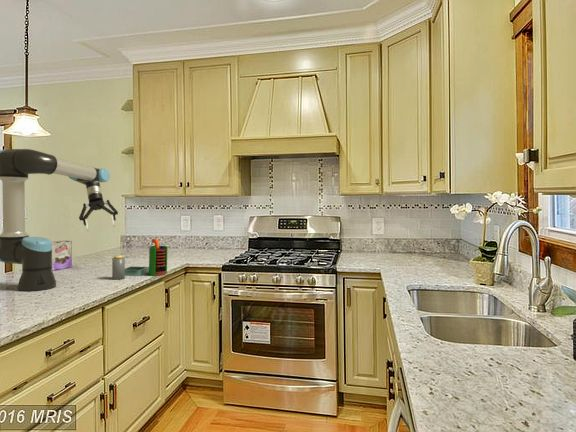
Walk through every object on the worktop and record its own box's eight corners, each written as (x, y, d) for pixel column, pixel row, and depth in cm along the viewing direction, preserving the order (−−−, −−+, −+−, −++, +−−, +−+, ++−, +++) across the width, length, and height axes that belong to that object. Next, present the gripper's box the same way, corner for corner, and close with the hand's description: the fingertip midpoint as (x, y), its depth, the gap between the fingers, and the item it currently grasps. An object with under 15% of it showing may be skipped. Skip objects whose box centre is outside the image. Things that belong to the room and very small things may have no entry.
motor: (159, 276, 210) (160, 240, 209) (145, 275, 212) (145, 239, 211) (169, 273, 220) (169, 238, 219) (155, 272, 222) (155, 238, 221)
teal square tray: (142, 276, 211) (142, 270, 211) (121, 275, 211) (121, 269, 211) (150, 272, 222) (150, 266, 222) (130, 271, 222) (130, 266, 222)
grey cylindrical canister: (121, 280, 200) (121, 256, 199) (110, 279, 200) (110, 256, 199) (126, 277, 206) (126, 255, 205) (115, 277, 206) (115, 254, 205)
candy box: (51, 271, 219) (50, 242, 218) (43, 270, 221) (43, 242, 220) (72, 267, 232) (72, 240, 231) (65, 266, 234) (64, 239, 233)
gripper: (118, 194, 233) (124, 226, 227) (72, 201, 223) (77, 234, 216) (117, 189, 227) (124, 221, 220) (69, 195, 216) (75, 229, 210)
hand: (101, 228), depth 218 cm, fingers open, 13 cm apart
